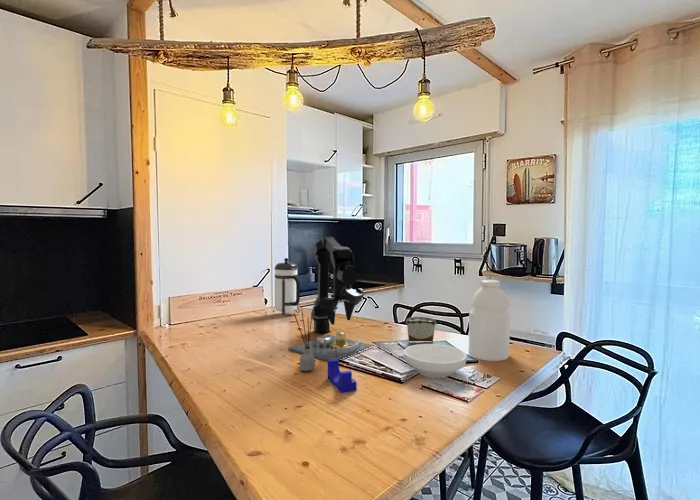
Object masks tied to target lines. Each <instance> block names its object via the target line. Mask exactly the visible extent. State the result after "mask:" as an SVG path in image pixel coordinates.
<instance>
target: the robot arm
mask: <svg viewBox="0 0 700 500" xmlns="http://www.w3.org/2000/svg"><path fill="white" fill-rule="evenodd" d="M313 255H314V259H315V260H316V262H317V265H318V270H317V272H318V273H317V277H318V279H317V297H316V299H315V300H314V301H313V307H312V310H311V312H310V315H311V314H312V321H313V330H312V331H311V333H315V334H318V335H326V334H328V333H331V332H332V330H330V324H331V326H332V325H333V326H334V325H335V322H336V321H335V320H336V312H337V311H336V310H338V308H339V307H338V304H339V303H343V306H344V311H345V317H346V320H347V321H350V320H351V318H352V315H353V312H354V309H355V307H356V306H357V305H358V304H360V303H361V302H362V301H363V300H362V299H363V298H364V289H363V288H357V289H356V288H355V289H353V287H352V285H354V284H355V283H357V281H358V274H357V272H356V270H355V269H353V267H354V268H355V264H356V260H355V256H354V254H353V252H352V250H351V249H350V247H348V246H342V245H341V244H340V243H338V241H337V240H336V238H335V237H333V236H323V237H321V240H319V241H317V242H316V243H315V244H314V248H313ZM330 264H332V268H333V283H331V284H330V287H332V289H333V291H332V292H333V294H330V297H329V282H330V281H329V278H330V277H329V275H330V272H329V270H330Z"/></svg>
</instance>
